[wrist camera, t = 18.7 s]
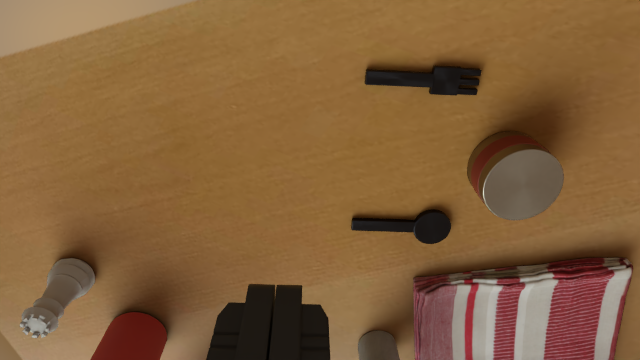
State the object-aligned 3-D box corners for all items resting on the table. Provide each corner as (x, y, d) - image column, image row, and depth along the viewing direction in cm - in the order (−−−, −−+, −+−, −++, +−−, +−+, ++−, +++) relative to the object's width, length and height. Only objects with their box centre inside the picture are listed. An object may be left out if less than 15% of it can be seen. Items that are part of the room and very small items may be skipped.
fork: (363, 89, 39) (364, 91, 39) (366, 62, 38) (367, 63, 38) (474, 94, 40) (476, 96, 39) (479, 67, 39) (482, 68, 38)
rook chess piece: (83, 250, 46) (42, 304, 39) (104, 283, 48) (69, 339, 41) (45, 261, 47) (-2, 316, 40) (68, 292, 49) (27, 350, 42)
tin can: (453, 156, 42) (469, 176, 38) (523, 115, 41) (547, 133, 37) (484, 209, 45) (501, 233, 41) (551, 173, 43) (576, 195, 39)
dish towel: (408, 276, 49) (413, 292, 46) (627, 250, 48) (643, 266, 45) (414, 381, 56) (419, 400, 54) (603, 361, 55) (616, 379, 53)
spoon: (350, 237, 46) (350, 241, 46) (353, 206, 45) (353, 209, 44) (445, 240, 47) (447, 244, 46) (452, 209, 45) (454, 213, 44)
